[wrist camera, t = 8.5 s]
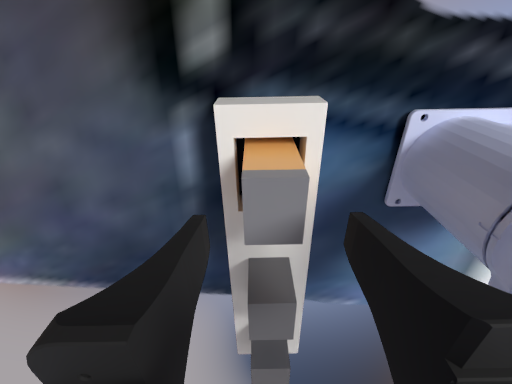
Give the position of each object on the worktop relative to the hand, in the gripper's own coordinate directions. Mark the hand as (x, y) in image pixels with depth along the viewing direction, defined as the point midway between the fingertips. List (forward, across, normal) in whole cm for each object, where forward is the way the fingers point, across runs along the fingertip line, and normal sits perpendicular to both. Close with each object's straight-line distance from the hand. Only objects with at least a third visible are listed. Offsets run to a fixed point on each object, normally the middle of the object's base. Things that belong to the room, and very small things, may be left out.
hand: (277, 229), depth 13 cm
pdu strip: (+8, 0, +9) cm, 12 cm away
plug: (+8, 0, 0) cm, 9 cm away
